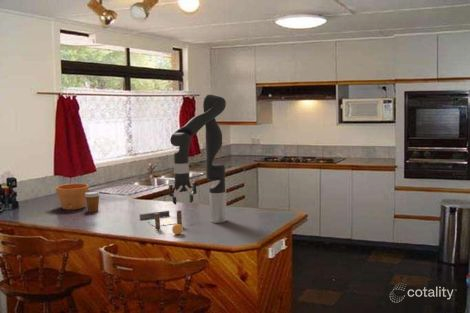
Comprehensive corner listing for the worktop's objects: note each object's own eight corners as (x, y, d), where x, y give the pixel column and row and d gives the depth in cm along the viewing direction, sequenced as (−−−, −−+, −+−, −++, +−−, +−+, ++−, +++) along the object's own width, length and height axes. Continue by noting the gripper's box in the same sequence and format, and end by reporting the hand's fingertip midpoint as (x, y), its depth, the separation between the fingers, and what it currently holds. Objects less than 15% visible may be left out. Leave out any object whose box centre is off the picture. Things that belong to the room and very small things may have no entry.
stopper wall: (139, 219, 323) (139, 214, 322) (168, 215, 330) (168, 210, 329) (140, 219, 321) (140, 214, 320) (169, 216, 328) (169, 211, 328)
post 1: (154, 229, 297) (154, 213, 296) (159, 228, 298) (158, 212, 297) (156, 230, 295) (155, 214, 294) (160, 229, 296) (159, 213, 295)
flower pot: (96, 204, 369) (94, 183, 367) (76, 211, 349) (75, 189, 347) (70, 203, 376) (69, 182, 374) (50, 210, 357) (49, 188, 355)
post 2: (176, 226, 302) (176, 210, 301) (181, 225, 303) (180, 210, 302) (178, 227, 300) (177, 211, 299) (182, 226, 301) (181, 210, 300)
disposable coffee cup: (87, 212, 344) (86, 194, 343) (84, 210, 352) (83, 192, 351) (102, 211, 348) (101, 192, 347) (98, 208, 357) (97, 190, 355)
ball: (171, 233, 286) (170, 223, 285) (181, 232, 288) (180, 222, 287) (174, 236, 281) (173, 225, 280) (184, 234, 283) (184, 224, 282)
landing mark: (146, 221, 315) (146, 221, 315) (169, 218, 321) (169, 218, 321) (153, 226, 302) (153, 226, 302) (176, 223, 308) (176, 223, 308)
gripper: (192, 170, 278) (193, 200, 280) (166, 172, 272) (167, 203, 274) (197, 171, 271) (198, 203, 273) (170, 173, 265) (172, 206, 267)
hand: (183, 203), depth 273 cm, fingers open, 8 cm apart
